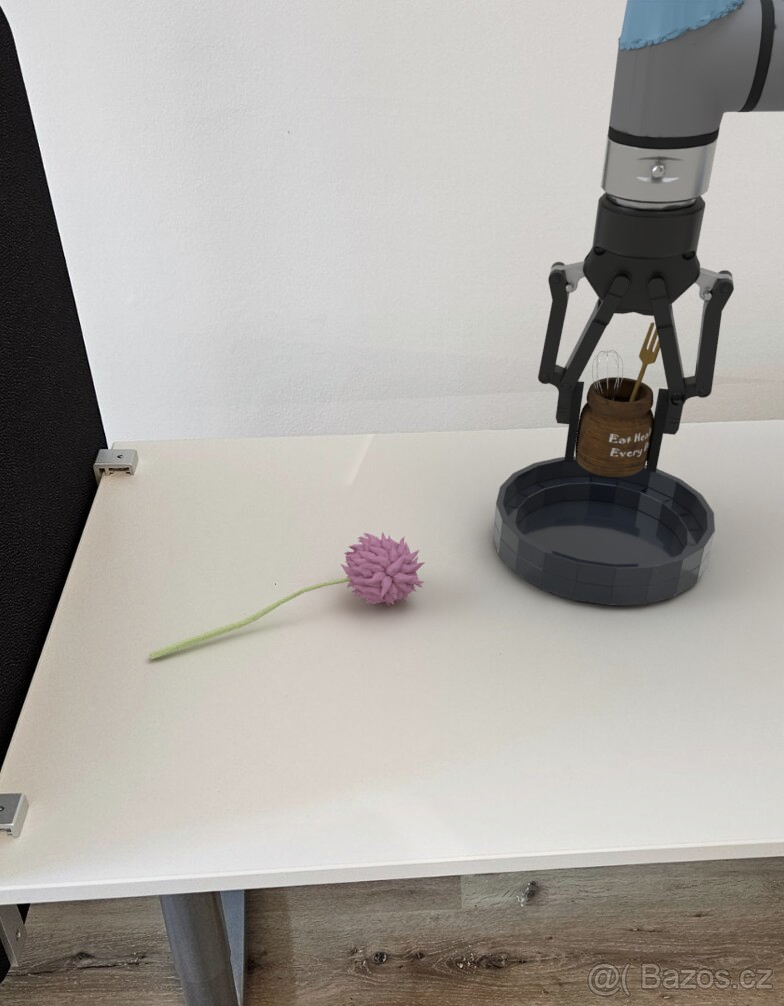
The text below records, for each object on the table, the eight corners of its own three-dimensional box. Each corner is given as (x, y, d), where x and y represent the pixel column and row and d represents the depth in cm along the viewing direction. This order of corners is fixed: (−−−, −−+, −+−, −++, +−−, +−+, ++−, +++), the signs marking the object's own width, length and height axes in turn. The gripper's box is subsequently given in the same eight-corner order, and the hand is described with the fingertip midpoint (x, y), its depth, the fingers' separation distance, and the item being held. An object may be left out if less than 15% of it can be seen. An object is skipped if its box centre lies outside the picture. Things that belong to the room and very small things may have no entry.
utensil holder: (558, 458, 94) (574, 332, 88) (611, 437, 97) (631, 313, 90) (609, 487, 90) (630, 356, 83) (664, 465, 92) (689, 336, 86)
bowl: (702, 508, 102) (711, 468, 100) (707, 626, 88) (718, 582, 86) (505, 485, 108) (509, 446, 106) (480, 591, 94) (484, 549, 92)
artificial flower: (176, 717, 88) (444, 602, 92) (152, 648, 85) (430, 532, 89) (154, 677, 94) (407, 571, 98) (131, 612, 91) (393, 505, 95)
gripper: (516, 205, 81) (492, 467, 93) (798, 215, 75) (732, 495, 87) (526, 176, 87) (502, 427, 99) (789, 183, 80) (728, 450, 93)
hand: (610, 458), depth 93 cm, fingers closed on utensil holder, 6 cm apart
